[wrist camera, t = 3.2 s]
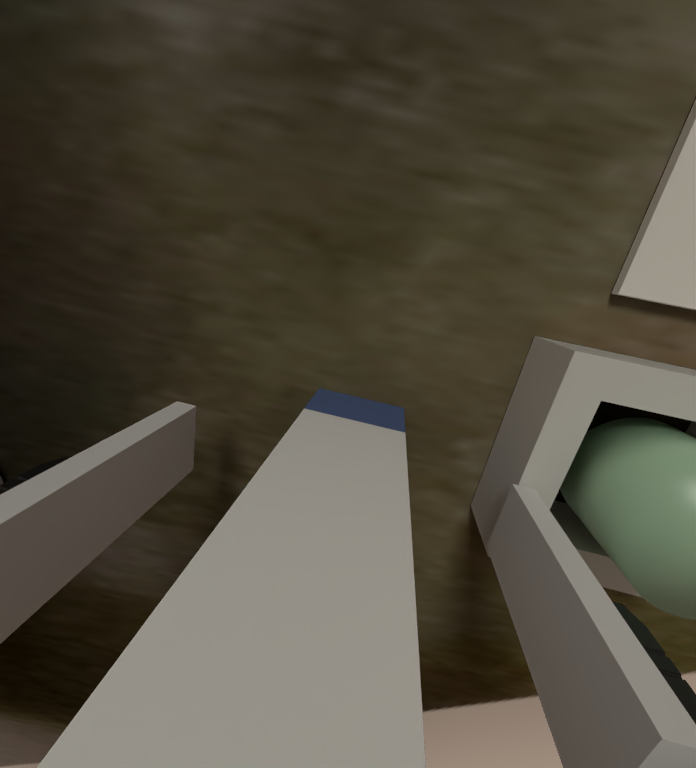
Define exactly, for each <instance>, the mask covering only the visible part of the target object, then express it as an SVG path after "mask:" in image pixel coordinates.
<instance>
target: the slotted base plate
mask: <svg viewBox="0 0 696 768" xmlns="http://www.w3.org/2000/svg"><path fill="white" fill-rule="evenodd" d="M611 294H615V295H620V296H625V297H630V298H635V299H640V300H645V301H650V302H655V303H660V304H665V305H670V306H675V307H681V308H686V309H691V310H696V99H695V102H694V104H693V106H692V109H691V111H690V113H689V116H688V118H687V120H686V122H685V125H684V127H683V129H682V132H681V134H680V136H679V139H678V141H677V143H676V145H675V148H674V150H673V152H672V155H671V157H670V159H669V162H668V164H667V166H666V169H665V171H664V173H663V175H662V178H661V180H660V182H659V185H658V187H657V189H656V192H655V194H654V196H653V198H652V201H651V203H650V205H649V208H648V210H647V212H646V215H645V217H644V219H643V221H642V224H641V226H640V228H639V231H638V233H637V235H636V238H635V240H634V242H633V244H632V247H631V249H630V251H629V254H628V256H627V258H626V261H625V263H624V265H623V268H622V270H621V272H620V274H619V277H618V279H617V281H616V284H615V286H614V288H613V291H612V293H611Z"/></svg>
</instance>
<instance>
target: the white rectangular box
mask: <svg viewBox="0 0 696 768" xmlns="http://www.w3.org/2000/svg"><path fill="white" fill-rule="evenodd" d="M37 768H426V762H425V746H424V730H423V713H422V697H421V680H420V664H419V648H418V632H417V615H416V599H415V583H414V567H413V550H412V534H411V518H410V501H409V485H408V469H407V453H406V436H405V420H404V408H402V407H397V406H393V405H389V404H385V403H380V402H376V401H372V400H367V399H363V398H359V397H355V396H350V395H346V394H342V393H337V392H333V391H329V390H325V389H320V388H319V389H318V391H317V392H316V393H315V395H314V396H313V397H312V399H311V400H310V401H309V403H308V404H307V406H306V407H305V408H304V410H303V411H302V412H301V414H300V415H299V416H298V418H297V419H296V420H295V422H294V423H293V424H292V426H291V427H290V428H289V430H288V431H287V432H286V434H285V435H284V436H283V438H282V439H281V440H280V442H279V443H278V444H277V446H276V447H275V448H274V450H273V451H272V453H271V454H270V455H269V457H268V458H267V459H266V461H265V462H264V463H263V465H262V466H261V467H260V469H259V470H258V471H257V473H256V474H255V475H254V477H253V478H252V479H251V481H250V482H249V483H248V485H247V486H246V487H245V489H244V490H243V491H242V493H241V494H240V495H239V497H238V498H237V499H236V501H235V502H234V504H233V505H232V506H231V508H230V509H229V510H228V512H227V513H226V514H225V516H224V517H223V518H222V520H221V521H220V522H219V524H218V525H217V526H216V528H215V529H214V530H213V532H212V533H211V534H210V536H209V537H208V538H207V540H206V541H205V542H204V544H203V545H202V546H201V548H200V549H199V550H198V552H197V553H196V555H195V556H194V557H193V559H192V560H191V561H190V563H189V564H188V565H187V567H186V568H185V569H184V571H183V572H182V573H181V575H180V576H179V577H178V579H177V580H176V581H175V583H174V584H173V585H172V587H171V588H170V589H169V591H168V592H167V593H166V595H165V596H164V597H163V599H162V600H161V601H160V603H159V604H158V606H157V607H156V608H155V610H154V611H153V612H152V614H151V615H150V616H149V618H148V619H147V620H146V622H145V623H144V624H143V626H142V627H141V628H140V630H139V631H138V632H137V634H136V635H135V636H134V638H133V639H132V640H131V642H130V643H129V644H128V646H127V647H126V648H125V650H124V651H123V653H122V654H121V655H120V657H119V658H118V659H117V661H116V662H115V663H114V665H113V666H112V667H111V669H110V670H109V671H108V673H107V674H106V675H105V677H104V678H103V679H102V681H101V682H100V683H99V685H98V686H97V687H96V689H95V690H94V691H93V693H92V694H91V695H90V697H89V698H88V699H87V701H86V702H85V704H84V705H83V706H82V708H81V709H80V710H79V712H78V713H77V714H76V716H75V717H74V718H73V720H72V721H71V722H70V724H69V725H68V726H67V728H66V729H65V730H64V732H63V733H62V734H61V736H60V737H59V738H58V740H57V741H56V742H55V744H54V745H53V746H52V748H51V749H50V750H49V752H48V753H47V755H46V756H45V757H44V759H43V760H42V761H41V763H40V764H39V765H38V767H37Z"/></svg>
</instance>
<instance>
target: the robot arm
mask: <svg viewBox="0 0 696 768" xmlns="http://www.w3.org/2000/svg"><path fill="white" fill-rule="evenodd" d="M195 425H196V406H194V405H190V404H186V403H182V402H178V401H177V402H175V403H173V404H171V405H169V406H167V407H166V408H164V409H162V410H160V411H158V412H156V413H154V414H152V415H150V416H148V417H147V418H145V419H143V420H141V421H139V422H137V423H135V424H133V425H131V426H130V427H128V428H126V429H124V430H122V431H120V432H118V433H116V434H114V435H112V436H111V437H109V438H107V439H105V440H103V441H101V442H99V443H97V444H95V445H94V446H92V447H90V448H88V449H86V450H84V451H82V452H80V453H78V454H77V455H75V456H73V457H71V458H68V457H64V458H61V459H58V460H54V461H51V462H48V463H44V464H41V465H39V466H37V467H35V468H33V469H31V470H29V471H27V472H25V473H23V474H21V475H19V476H18V477H17V478H16V479H14V478H13V479H11V480H9V481H7V482H5V483H3V484H1V485H0V644H1V643H2V642H3V641H4V640H5V639H6V638H7V637H8V636H10V635H11V634H12V633H13V632H14V631H15V630H16V629H17V628H18V627H19V626H21V625H22V624H23V623H24V622H25V621H26V620H27V619H28V618H29V617H31V616H32V615H33V614H34V613H35V612H36V611H37V610H38V609H39V608H41V607H42V606H43V605H44V604H45V603H46V602H47V601H48V600H49V599H50V598H52V597H53V596H54V595H55V594H56V593H57V592H58V591H59V590H60V589H62V588H63V587H64V586H65V585H66V584H67V583H68V582H69V581H70V580H71V579H73V578H74V577H75V576H76V575H77V574H78V573H79V572H80V571H81V570H83V569H84V568H85V567H86V566H87V565H88V564H89V563H90V562H91V561H92V560H94V559H95V558H96V557H97V556H98V555H99V554H100V553H101V552H102V551H104V550H105V549H106V548H107V547H108V546H109V545H110V544H111V543H112V542H113V541H115V540H116V539H117V538H118V537H119V536H120V535H121V534H122V533H123V532H125V531H126V530H127V529H128V528H129V527H130V526H131V525H132V524H133V523H134V522H136V521H137V520H138V519H139V518H140V517H141V516H142V515H143V514H144V513H146V512H147V511H148V510H149V509H150V508H151V507H152V506H153V505H154V504H155V503H157V502H158V501H159V500H160V499H161V498H162V497H163V496H164V495H165V494H167V493H168V492H169V491H170V490H171V489H172V488H173V487H174V486H175V485H176V484H178V483H179V482H180V481H181V480H182V479H183V478H184V477H185V476H186V475H188V474H189V473H190V472H191V471H192V470H193V463H194V444H195ZM487 549H488V552H489V555H490V557H491V560H492V563H493V566H494V569H495V572H496V575H497V578H498V580H499V583H500V586H501V589H502V592H503V595H504V598H505V601H506V604H507V606H508V609H509V612H510V615H511V618H512V621H513V624H514V627H515V629H516V632H517V635H518V638H519V641H520V644H521V647H522V650H523V653H524V655H525V658H526V661H527V664H528V667H529V670H530V673H531V676H532V678H533V681H534V684H535V687H536V690H537V693H538V696H539V699H540V701H541V704H542V707H543V710H544V713H545V716H546V719H547V722H548V724H549V727H550V730H551V733H552V736H553V739H554V742H555V745H556V748H557V750H558V753H559V756H560V759H561V762H562V765H563V768H696V694H695V693H694V691H693V690H692V688H691V687H690V686H689V685H688V683H687V682H686V681H685V680H682V678H681V673H680V672H679V671H678V669H677V668H676V667H675V665H674V664H673V663H672V661H671V660H670V658H668V657H666V656H665V652H664V650H663V649H662V648H661V646H660V645H659V643H658V642H657V641H656V639H655V638H654V637H653V635H652V634H651V633H650V631H649V630H648V628H647V627H646V626H645V625H644V624H643V623H642V622H641V621H640V620H639V619H637V618H636V617H635V616H634V615H633V614H632V613H631V612H630V611H629V610H628V609H627V608H626V607H625V606H624V605H623V604H620V603H616V602H612V601H611V600H610V598H609V597H608V595H607V594H606V592H605V591H604V589H603V588H602V586H601V585H600V583H599V582H598V581H597V579H596V578H595V576H594V575H593V573H592V572H591V570H590V569H589V567H588V566H587V564H586V563H585V561H584V560H583V559H582V557H581V556H580V554H579V553H578V551H577V550H576V548H575V547H574V545H573V544H572V542H571V541H570V540H569V538H568V537H567V535H566V534H565V532H564V531H563V529H562V528H561V526H560V525H559V523H558V522H557V520H556V519H555V518H554V516H553V515H552V513H551V512H550V510H549V509H548V507H547V506H546V504H545V503H544V501H543V500H542V499H541V497H540V496H539V494H538V493H537V491H536V490H535V489H532V488H528V487H524V486H520V485H516V484H512V486H511V489H510V491H509V493H508V496H507V498H506V501H505V503H504V506H503V508H502V510H501V513H500V515H499V518H498V520H497V522H496V525H495V527H494V530H493V532H492V534H491V537H490V539H489V542H488V544H487Z"/></svg>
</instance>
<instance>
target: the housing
mask: <svg viewBox="0 0 696 768" xmlns="http://www.w3.org/2000/svg"><path fill="white" fill-rule="evenodd" d="M601 401H604V402H609V403H613V404H618V405H622V406H627V407H632V408H636V409H641V410H645V411H650V412H654V413H659V414H663V415H668V416H672V417H677V418H681V419H686V420H690V421H691V423H690V425H689V426H688V428H687V430H686V432H685V433H686V434H688V435H690V436H692V437H694V438H696V370H694V369H689V368H684V367H679V366H675V365H670V364H665V363H660V362H656V361H651V360H646V359H641V358H637V357H632V356H627V355H622V354H618V353H613V352H608V351H603V350H599V349H594V348H589V347H584V346H580V345H575V344H570V343H565V342H561V341H556V340H551V339H546V338H542V337H537V336H534V339H533V341H532V344H531V347H530V349H529V352H528V355H527V357H526V360H525V363H524V365H523V368H522V371H521V373H520V376H519V379H518V381H517V384H516V386H515V389H514V392H513V394H512V397H511V400H510V402H509V405H508V408H507V410H506V413H505V416H504V418H503V421H502V424H501V426H500V429H499V432H498V434H497V437H496V439H495V442H494V445H493V447H492V450H491V453H490V455H489V458H488V461H487V463H486V466H485V469H484V471H483V474H482V477H481V479H480V482H479V484H478V487H477V490H476V492H475V495H474V498H473V500H472V503H471V508H472V511H473V514H474V517H475V520H476V523H477V526H478V529H479V532H480V535H481V538H482V541H483V544H484V547H485V549H486V552H487V555H488V557H490V555H489V552H488V549H487V544H488V542H489V539H490V537H491V534H492V532H493V530H494V527H495V525H496V522H497V520H498V518H499V515H500V513H501V510H502V508H503V506H504V503H505V501H506V498H507V496H508V493H509V491H510V489H511V486H512V484H516V485H520V486H524V487H528V488H532V489H535V490H536V491H537V493H538V494H539V496H540V497H541V499H542V500H543V501H544V503H545V504H546V506H547V507H548V509H549V510H550V512H551V513H552V515H553V516H554V518H555V519H556V520H557V522H558V523H559V525H560V526H561V528H562V529H563V531H564V532H565V534H566V535H567V537H568V538H569V540H570V541H571V542H572V544H573V545H574V547H575V548H576V550H577V551H578V553H579V554H580V556H581V557H582V559H583V560H584V561H585V563H586V564H587V566H588V567H589V569H590V570H591V572H592V573H593V575H594V576H595V578H596V579H597V581H598V582H599V583H600V585H601V586H602V587H605V588H608V589H612V590H616V591H620V592H624V593H627V594H631V595H635V596H639V597H642V596H641V595H640V594H639V593H638V592H637V591H636V590H635V589H634V587H633V586H632V585H631V584H630V582H629V581H628V580H627V578H626V577H625V576H624V575H623V573H622V572H621V571H620V570H619V568H618V567H617V566H616V564H615V563H614V562H613V561H612V559H611V558H610V557H609V556H608V554H607V553H606V552H605V550H604V549H603V548H602V547H601V545H600V544H599V543H598V542H597V540H596V539H595V538H594V536H593V535H592V534H591V533H590V531H589V530H588V529H587V528H586V526H585V525H584V524H583V522H582V521H581V520H580V519H579V517H578V516H577V515H576V514H575V512H574V511H573V510H572V509H571V507H570V506H569V505H568V504H567V503H563V502H559V501H555V498H556V495H557V493H558V491H559V489H560V487H561V485H562V483H563V481H564V478H565V476H566V474H567V472H568V470H569V468H570V466H571V464H572V462H573V459H574V457H575V455H576V453H577V451H578V449H579V447H580V445H581V442H582V440H583V438H584V436H585V434H586V432H587V430H588V428H589V426H590V423H591V421H592V419H593V417H594V415H595V413H596V411H597V409H598V406H599V404H600V402H601Z"/></svg>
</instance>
